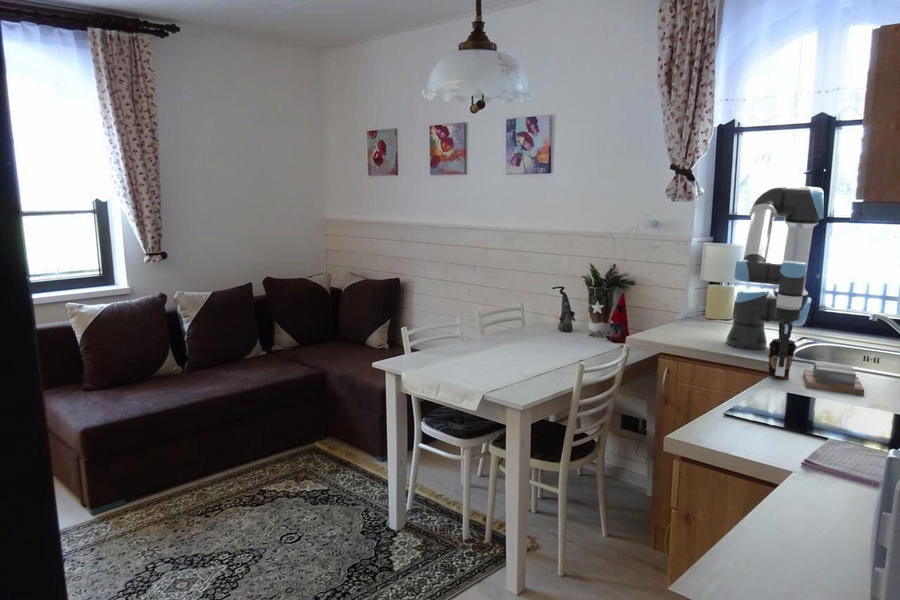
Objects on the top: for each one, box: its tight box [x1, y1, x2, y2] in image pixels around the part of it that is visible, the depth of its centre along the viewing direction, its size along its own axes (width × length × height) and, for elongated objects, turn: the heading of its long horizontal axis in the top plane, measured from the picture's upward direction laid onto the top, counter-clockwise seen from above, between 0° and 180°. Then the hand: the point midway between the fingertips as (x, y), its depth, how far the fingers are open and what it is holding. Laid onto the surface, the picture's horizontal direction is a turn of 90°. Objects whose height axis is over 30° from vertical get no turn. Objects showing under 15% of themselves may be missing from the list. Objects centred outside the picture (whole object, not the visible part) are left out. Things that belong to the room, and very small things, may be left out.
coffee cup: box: [768, 338, 798, 380], centre depth 221 cm, size 9×8×13 cm
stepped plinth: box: [803, 360, 865, 397], centre depth 215 cm, size 16×16×6 cm
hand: (779, 372), depth 222 cm, fingers closed on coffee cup, 8 cm apart
